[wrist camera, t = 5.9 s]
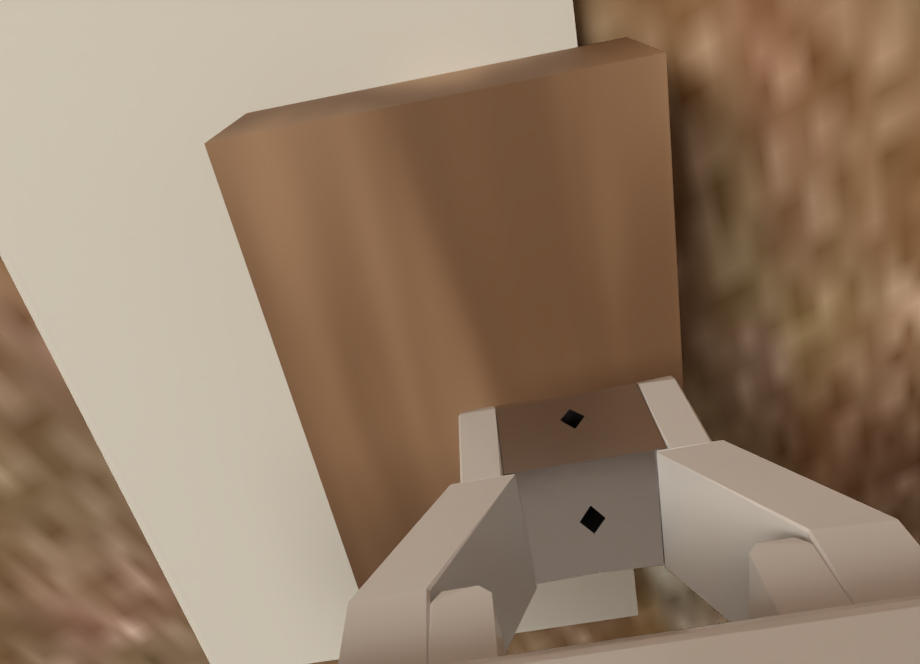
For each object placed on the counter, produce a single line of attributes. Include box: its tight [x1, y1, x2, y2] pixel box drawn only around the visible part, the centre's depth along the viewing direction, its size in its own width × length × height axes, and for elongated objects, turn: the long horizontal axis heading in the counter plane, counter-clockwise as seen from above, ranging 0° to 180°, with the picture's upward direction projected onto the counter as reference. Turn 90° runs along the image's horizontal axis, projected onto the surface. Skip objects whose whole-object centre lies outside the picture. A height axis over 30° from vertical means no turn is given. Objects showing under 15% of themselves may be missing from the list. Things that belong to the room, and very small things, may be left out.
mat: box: [0, 0, 638, 664], centre depth 14 cm, size 11×18×1 cm, turn 11°
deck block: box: [204, 37, 684, 589], centre depth 13 cm, size 2×9×6 cm
